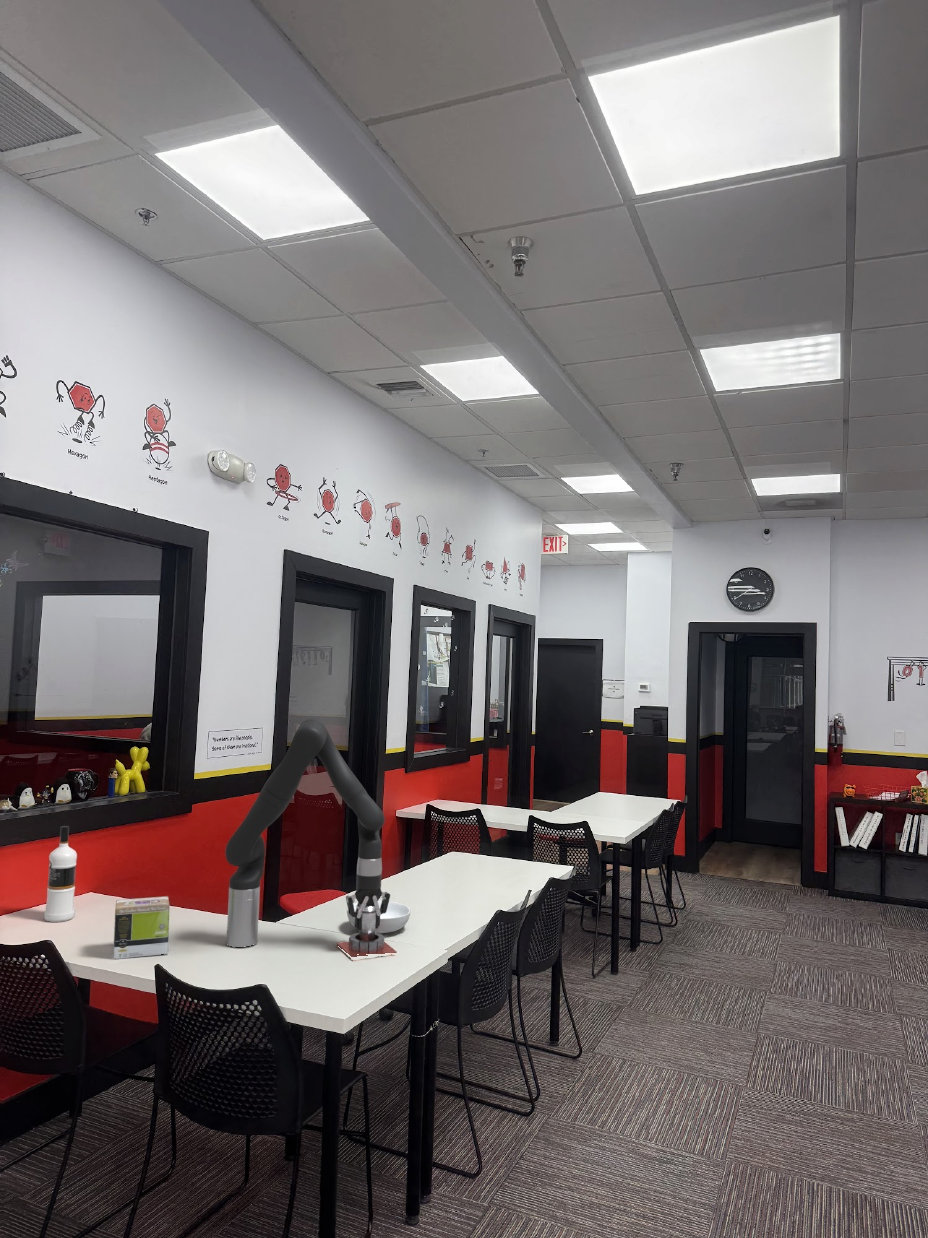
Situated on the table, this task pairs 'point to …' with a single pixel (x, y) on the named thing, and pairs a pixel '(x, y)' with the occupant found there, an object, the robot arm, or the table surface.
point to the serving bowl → (389, 917)
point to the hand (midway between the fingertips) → (367, 928)
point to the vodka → (61, 881)
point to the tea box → (141, 927)
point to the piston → (368, 923)
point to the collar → (365, 946)
